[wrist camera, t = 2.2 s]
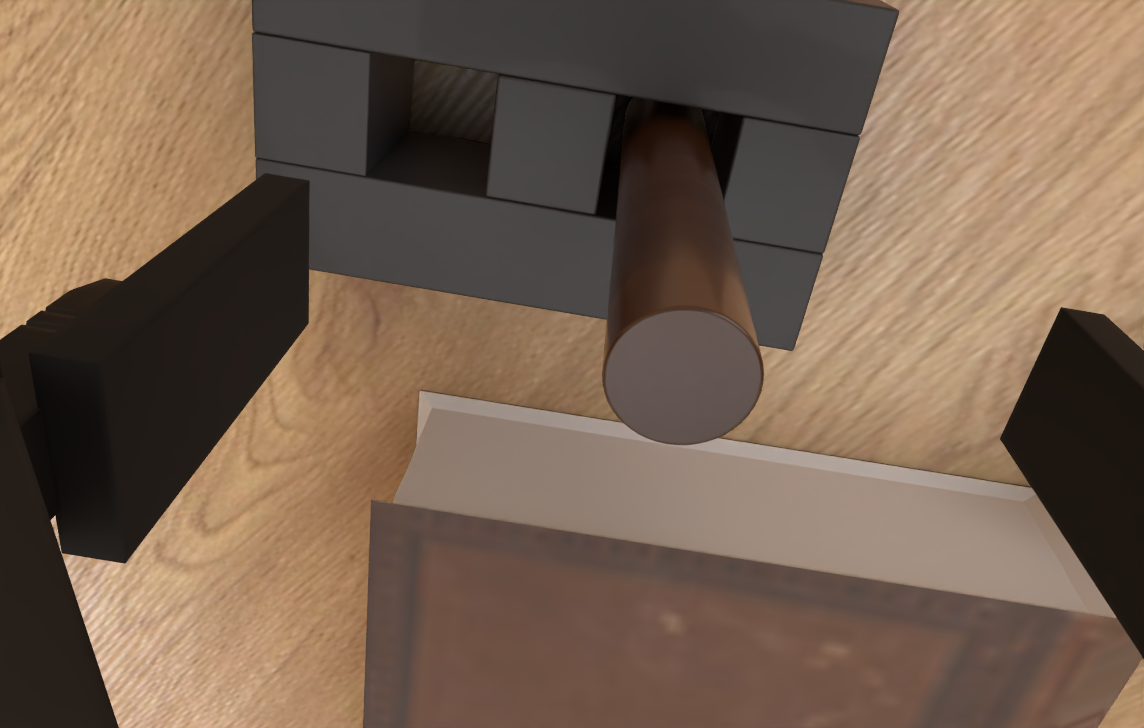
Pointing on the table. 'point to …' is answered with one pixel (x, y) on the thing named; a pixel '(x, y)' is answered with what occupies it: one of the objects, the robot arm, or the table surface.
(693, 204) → the stirring stick
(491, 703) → the book
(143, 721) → the table surface
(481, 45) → the holder
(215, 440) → the robot arm
